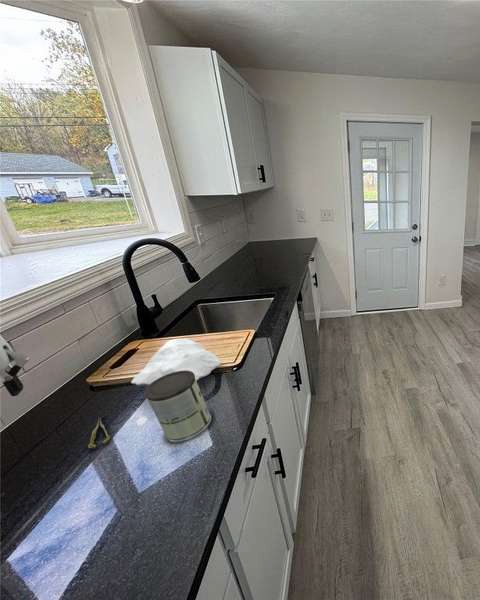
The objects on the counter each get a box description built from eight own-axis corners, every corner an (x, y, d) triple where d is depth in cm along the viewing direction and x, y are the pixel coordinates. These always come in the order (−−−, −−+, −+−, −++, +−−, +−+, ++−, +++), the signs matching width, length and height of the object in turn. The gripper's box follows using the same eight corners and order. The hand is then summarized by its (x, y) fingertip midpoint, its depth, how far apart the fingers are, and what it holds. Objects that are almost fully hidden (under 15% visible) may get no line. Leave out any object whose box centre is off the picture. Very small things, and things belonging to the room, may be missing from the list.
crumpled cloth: (132, 419, 83) (124, 390, 80) (133, 363, 109) (128, 339, 106) (230, 391, 97) (226, 365, 94) (211, 347, 123) (207, 326, 120)
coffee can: (159, 431, 81) (137, 387, 75) (201, 407, 88) (184, 365, 82) (175, 449, 75) (153, 403, 69) (218, 422, 82) (201, 378, 77)
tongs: (106, 417, 87) (103, 411, 86) (113, 442, 79) (109, 437, 78) (86, 425, 84) (83, 420, 83) (91, 453, 76) (87, 447, 75)
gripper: (-134, 346, 56) (-68, 423, 63) (-1, 320, 63) (45, 392, 71) (-100, 330, 62) (-43, 402, 69) (18, 308, 69) (59, 375, 77)
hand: (1, 396), depth 70 cm, fingers open, 4 cm apart
